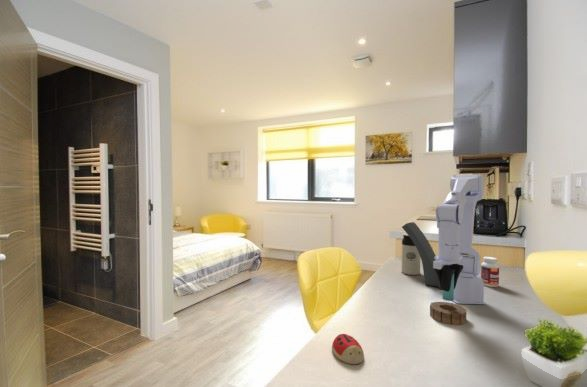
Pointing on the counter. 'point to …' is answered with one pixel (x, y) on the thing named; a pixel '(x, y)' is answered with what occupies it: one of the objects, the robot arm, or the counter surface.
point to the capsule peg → (449, 295)
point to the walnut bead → (448, 313)
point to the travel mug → (410, 256)
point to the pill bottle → (490, 272)
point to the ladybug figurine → (347, 349)
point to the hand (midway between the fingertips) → (448, 289)
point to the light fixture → (423, 253)
